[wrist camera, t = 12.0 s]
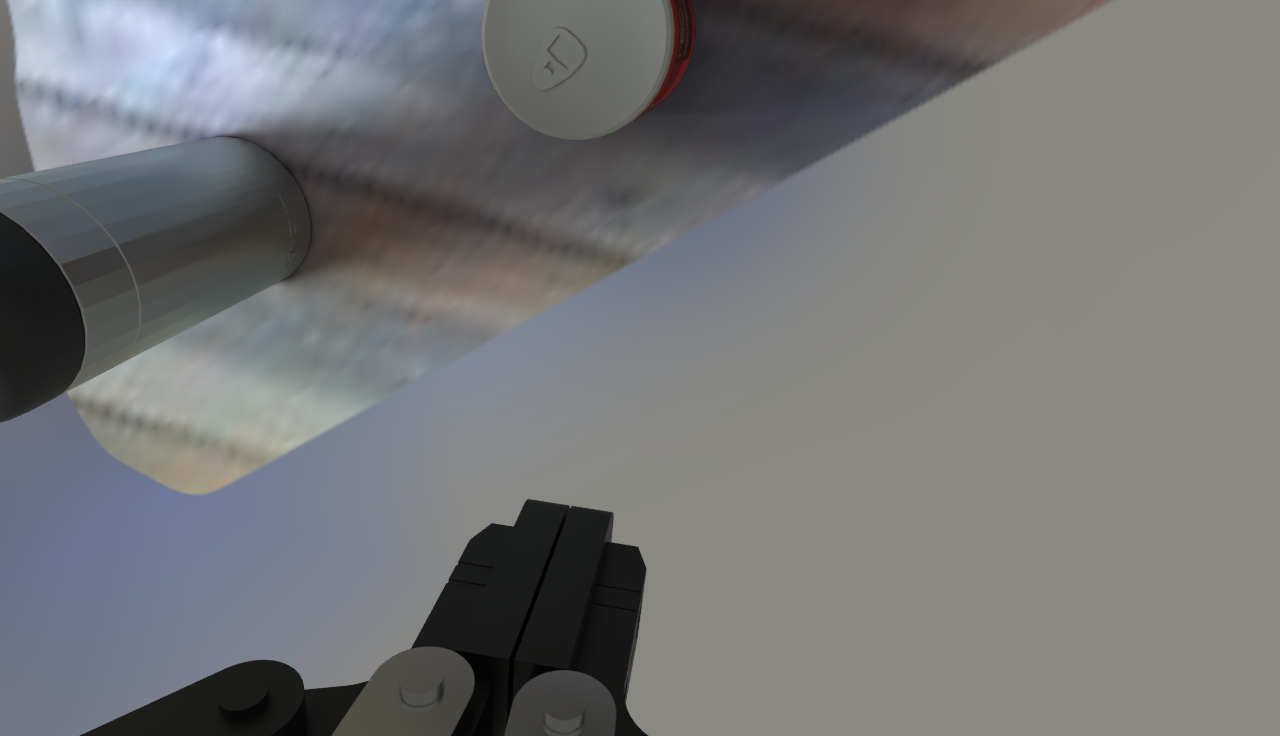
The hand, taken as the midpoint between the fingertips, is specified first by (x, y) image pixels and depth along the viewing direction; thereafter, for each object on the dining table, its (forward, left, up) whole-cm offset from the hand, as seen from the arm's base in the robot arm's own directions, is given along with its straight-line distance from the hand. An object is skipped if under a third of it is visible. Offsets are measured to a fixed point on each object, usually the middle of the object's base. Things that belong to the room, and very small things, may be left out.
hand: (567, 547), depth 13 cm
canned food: (-5, +7, -33) cm, 34 cm away
